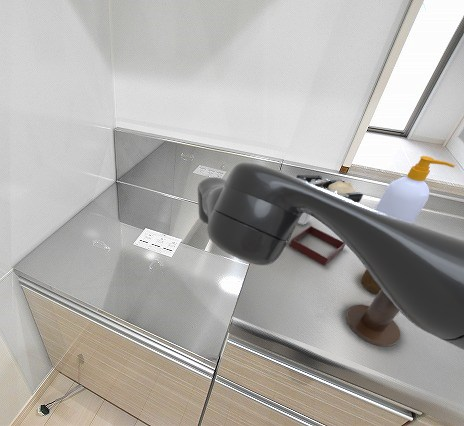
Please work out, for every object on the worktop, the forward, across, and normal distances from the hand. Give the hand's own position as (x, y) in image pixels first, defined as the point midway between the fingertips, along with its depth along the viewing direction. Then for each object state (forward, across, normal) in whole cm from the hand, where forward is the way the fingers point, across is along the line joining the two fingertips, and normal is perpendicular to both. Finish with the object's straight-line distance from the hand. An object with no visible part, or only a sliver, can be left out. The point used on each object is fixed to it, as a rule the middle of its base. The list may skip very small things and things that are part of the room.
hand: (350, 190), depth 69 cm
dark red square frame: (-3, 0, +18) cm, 18 cm away
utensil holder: (+3, -14, +18) cm, 23 cm away
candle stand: (-5, -23, +18) cm, 30 cm away
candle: (-3, 0, +8) cm, 9 cm away
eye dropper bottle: (-1, +13, +18) cm, 22 cm away
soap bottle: (+19, +2, +18) cm, 27 cm away
